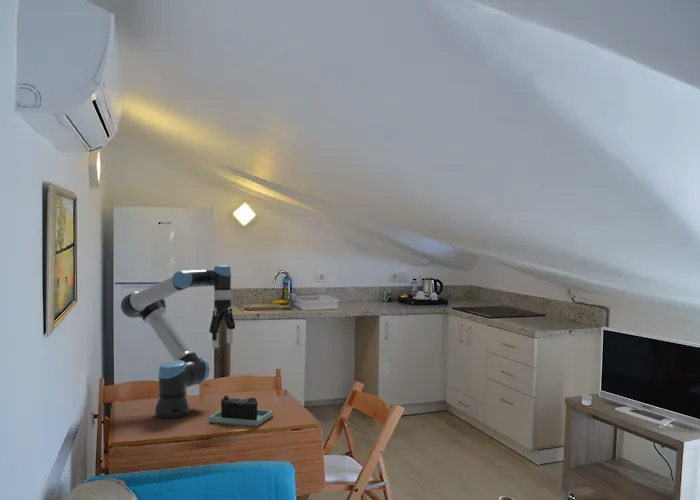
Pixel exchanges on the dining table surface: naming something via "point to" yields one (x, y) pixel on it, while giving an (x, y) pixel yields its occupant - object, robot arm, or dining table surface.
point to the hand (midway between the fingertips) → (222, 345)
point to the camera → (239, 408)
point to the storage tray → (261, 418)
